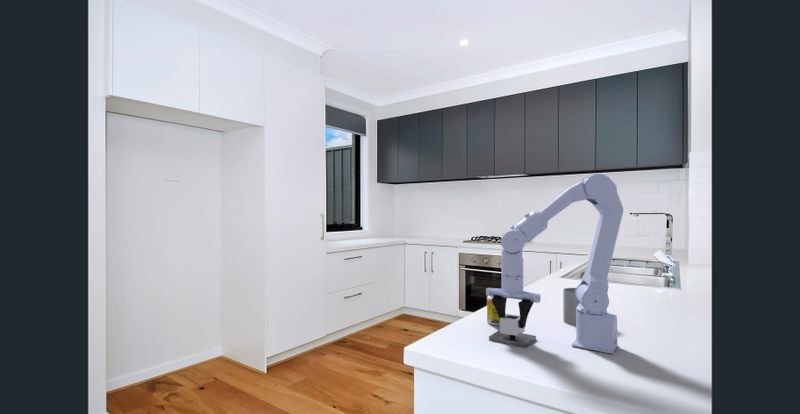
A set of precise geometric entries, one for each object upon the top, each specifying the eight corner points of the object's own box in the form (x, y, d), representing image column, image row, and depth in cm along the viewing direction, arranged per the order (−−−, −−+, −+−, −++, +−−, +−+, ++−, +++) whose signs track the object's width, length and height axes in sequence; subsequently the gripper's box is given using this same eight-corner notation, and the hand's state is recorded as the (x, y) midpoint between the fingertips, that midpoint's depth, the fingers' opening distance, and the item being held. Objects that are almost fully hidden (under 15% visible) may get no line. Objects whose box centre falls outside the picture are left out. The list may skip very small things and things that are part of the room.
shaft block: (536, 339, 107) (535, 321, 107) (525, 347, 101) (525, 328, 101) (501, 332, 113) (500, 315, 113) (488, 340, 107) (488, 321, 107)
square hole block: (524, 331, 107) (524, 316, 107) (518, 336, 103) (517, 320, 103) (506, 328, 110) (506, 313, 110) (499, 332, 106) (499, 317, 106)
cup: (597, 326, 119) (597, 293, 119) (570, 326, 119) (570, 293, 119) (585, 318, 127) (585, 287, 127) (559, 318, 127) (559, 287, 127)
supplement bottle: (490, 326, 119) (490, 292, 120) (484, 321, 125) (484, 288, 125) (508, 325, 120) (508, 291, 120) (501, 320, 126) (501, 288, 126)
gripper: (481, 274, 108) (481, 324, 108) (534, 280, 99) (534, 334, 99) (492, 271, 114) (492, 318, 114) (543, 276, 105) (543, 327, 105)
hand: (512, 325), depth 107 cm, fingers closed on square hole block, 5 cm apart
